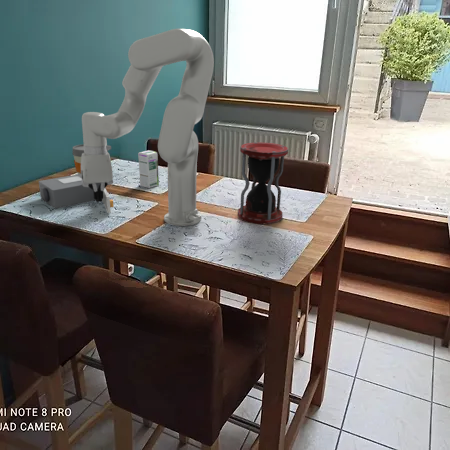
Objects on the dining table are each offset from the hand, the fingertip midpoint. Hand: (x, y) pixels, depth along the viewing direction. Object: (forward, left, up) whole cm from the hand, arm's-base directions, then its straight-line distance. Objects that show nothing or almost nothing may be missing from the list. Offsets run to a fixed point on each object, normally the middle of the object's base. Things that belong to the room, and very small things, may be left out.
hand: (98, 200), depth 153 cm
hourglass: (-39, -42, -4) cm, 58 cm away
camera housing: (+18, +2, -4) cm, 19 cm away
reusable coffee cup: (+35, -13, -4) cm, 38 cm away
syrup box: (+15, -30, -4) cm, 34 cm away
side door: (+2, -4, -3) cm, 6 cm away
